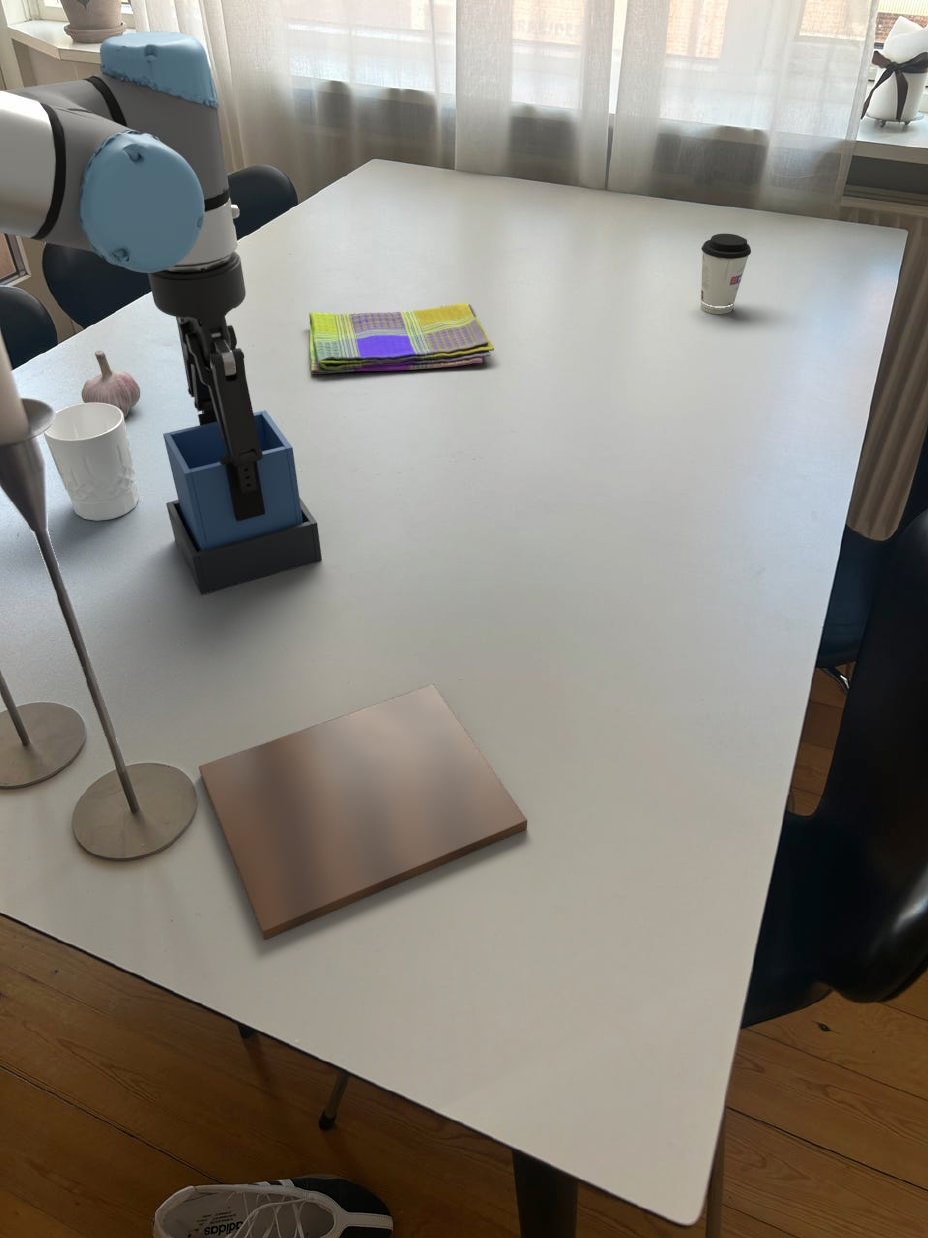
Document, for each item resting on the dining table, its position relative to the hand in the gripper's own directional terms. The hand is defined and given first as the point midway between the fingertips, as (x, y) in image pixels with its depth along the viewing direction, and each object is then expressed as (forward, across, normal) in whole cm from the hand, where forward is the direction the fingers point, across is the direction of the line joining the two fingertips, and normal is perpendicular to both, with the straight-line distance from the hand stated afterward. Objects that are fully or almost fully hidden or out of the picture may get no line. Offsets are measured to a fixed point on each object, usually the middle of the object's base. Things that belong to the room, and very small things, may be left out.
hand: (236, 492), depth 93 cm
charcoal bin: (+7, 0, 0) cm, 7 cm away
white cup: (+7, +15, +11) cm, 20 cm away
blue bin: (+6, 0, 0) cm, 6 cm away
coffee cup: (+7, +27, -80) cm, 85 cm away
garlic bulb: (+7, +36, +6) cm, 37 cm away
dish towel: (+7, +37, -33) cm, 50 cm away
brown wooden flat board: (+7, -35, +2) cm, 36 cm away
